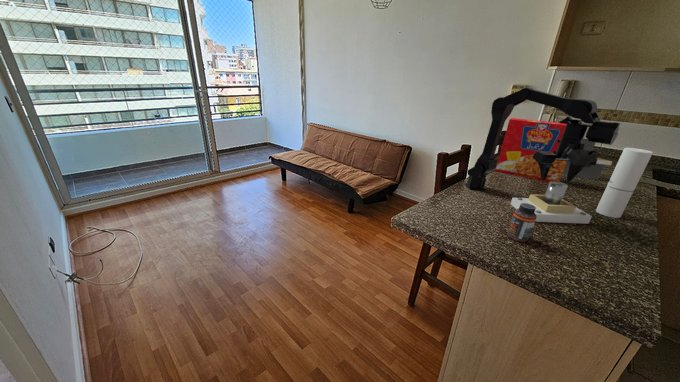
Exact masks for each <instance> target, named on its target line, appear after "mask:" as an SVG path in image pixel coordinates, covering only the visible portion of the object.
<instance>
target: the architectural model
mask: <svg viewBox="0 0 680 382" xmlns="http://www.w3.org/2000/svg"><path fill="white" fill-rule="evenodd" d="M582 143H584V145H585V146H584V150H586V151H591V150H592V151H594V148H595V146H596V144H597V143H596V142H590V141H588V139H587V138H585V137H584V138H583V140H582ZM570 162H571V161H567V163H566V166H565V168H564V171H563V173H562V175H568V171H569V166H570ZM612 164H613V161H612V160H609V159H604V158H600V157H597V162H596V165H590V166H591V167H587V168H585V169H582V170H581V171H580V172H579V173H578V174H577V175H576V176H575V177H579V178H585V179H591V180H596V181H597V180H599V179H600V176H601V175H602V171H603V169H604V167H605V166H612Z"/></svg>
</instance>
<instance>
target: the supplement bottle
mask: <svg viewBox="0 0 680 382" xmlns="http://www.w3.org/2000/svg"><path fill="white" fill-rule="evenodd" d="M535 209H536V207H535V206H533V205H531V204H528V203H521V204H520V207H519V209H516V208H515V210H514V211H513V215H512V217H511V219H510V223H509V226H508V228H507V232H506V233H507V236H508V237H509V238H510V239H512V240H514V241H515V242H516V241H517V242H522V243H524V242H527V241H529V240H530V236H531V234H532V231H533V229H534V226H535V223H536V222H535V220H536V218H537V216H536V214H535V213H534V212H535Z"/></svg>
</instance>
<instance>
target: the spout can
mask: <svg viewBox="0 0 680 382" xmlns="http://www.w3.org/2000/svg"><path fill="white" fill-rule="evenodd" d="M547 185H548V186H547V188H546V192H545V193H544V195H545V196H544V199H543V201H544V202H545V203H547V204H549V205H560V203H561V201H562V199H563V198H564V195H565V193H566V190H567V188H568V187H569V186H568V184H567V183H564V182H562V181H559V182H558V181H550V182H549V183H548V182H547Z"/></svg>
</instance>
